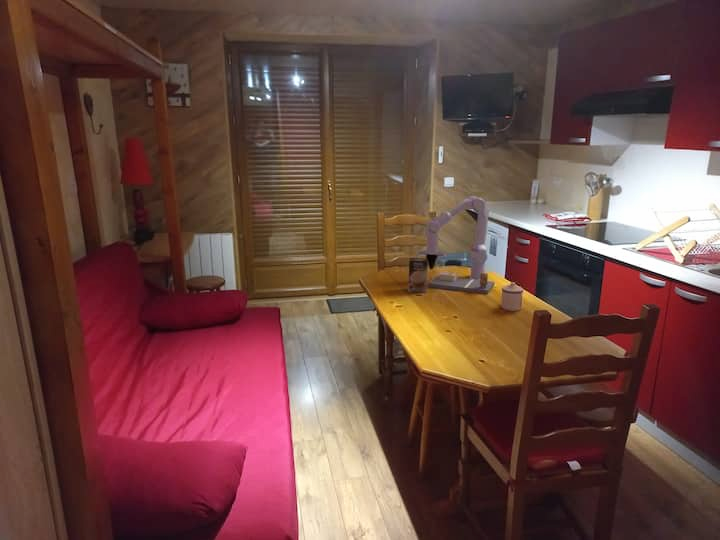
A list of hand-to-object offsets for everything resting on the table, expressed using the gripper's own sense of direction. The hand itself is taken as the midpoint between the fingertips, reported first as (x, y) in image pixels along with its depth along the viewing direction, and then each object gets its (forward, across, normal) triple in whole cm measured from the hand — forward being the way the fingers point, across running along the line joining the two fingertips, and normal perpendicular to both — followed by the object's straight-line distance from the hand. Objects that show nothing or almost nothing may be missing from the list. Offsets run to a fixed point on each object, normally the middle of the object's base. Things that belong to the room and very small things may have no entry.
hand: (431, 268), depth 259 cm
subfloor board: (+7, +17, -3) cm, 19 cm away
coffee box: (+7, -1, -19) cm, 20 cm away
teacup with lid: (+7, +45, -25) cm, 52 cm away
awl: (+5, +29, -7) cm, 30 cm away
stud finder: (+5, +9, 0) cm, 10 cm away
